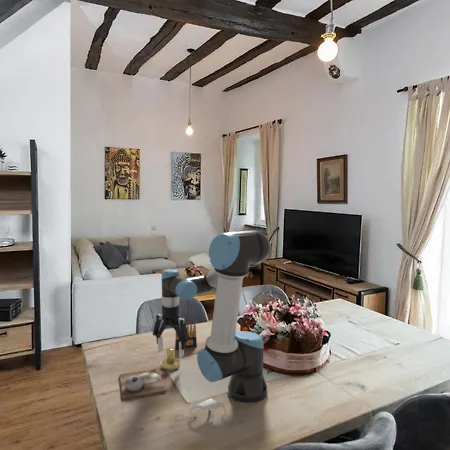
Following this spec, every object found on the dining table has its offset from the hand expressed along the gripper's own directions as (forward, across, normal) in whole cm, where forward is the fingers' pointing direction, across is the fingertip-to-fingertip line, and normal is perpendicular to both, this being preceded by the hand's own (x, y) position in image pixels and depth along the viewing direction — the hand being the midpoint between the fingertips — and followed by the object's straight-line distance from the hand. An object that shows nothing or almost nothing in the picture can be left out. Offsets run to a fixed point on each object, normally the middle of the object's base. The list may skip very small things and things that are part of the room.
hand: (170, 353), depth 160 cm
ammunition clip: (+6, +4, -20) cm, 21 cm away
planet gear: (+6, 0, 0) cm, 6 cm away
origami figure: (+6, -31, +24) cm, 40 cm away
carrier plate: (+6, +2, +18) cm, 19 cm away
